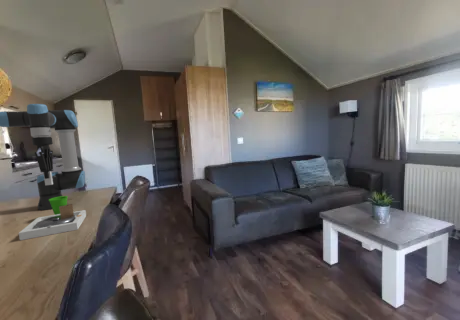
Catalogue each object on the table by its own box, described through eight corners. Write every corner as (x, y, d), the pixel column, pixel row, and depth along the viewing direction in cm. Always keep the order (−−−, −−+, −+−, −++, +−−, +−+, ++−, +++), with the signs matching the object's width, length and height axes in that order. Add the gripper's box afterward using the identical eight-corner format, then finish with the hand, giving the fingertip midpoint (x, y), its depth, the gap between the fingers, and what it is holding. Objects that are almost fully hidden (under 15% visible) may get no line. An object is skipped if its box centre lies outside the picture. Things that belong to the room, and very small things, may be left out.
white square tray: (38, 223, 120) (37, 216, 120) (86, 215, 129) (85, 209, 129) (19, 240, 100) (18, 232, 100) (77, 229, 109) (76, 221, 108)
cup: (60, 219, 126) (57, 200, 124) (47, 219, 127) (44, 200, 126) (74, 213, 134) (71, 195, 133) (61, 213, 136) (59, 195, 135)
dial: (36, 232, 103) (33, 215, 102) (36, 223, 115) (33, 208, 114) (77, 222, 114) (75, 206, 113) (73, 215, 126) (71, 201, 125)
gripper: (44, 136, 103) (52, 186, 105) (56, 136, 115) (63, 181, 118) (24, 137, 100) (33, 188, 103) (39, 137, 113) (46, 183, 115)
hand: (49, 184), depth 110 cm, fingers closed
